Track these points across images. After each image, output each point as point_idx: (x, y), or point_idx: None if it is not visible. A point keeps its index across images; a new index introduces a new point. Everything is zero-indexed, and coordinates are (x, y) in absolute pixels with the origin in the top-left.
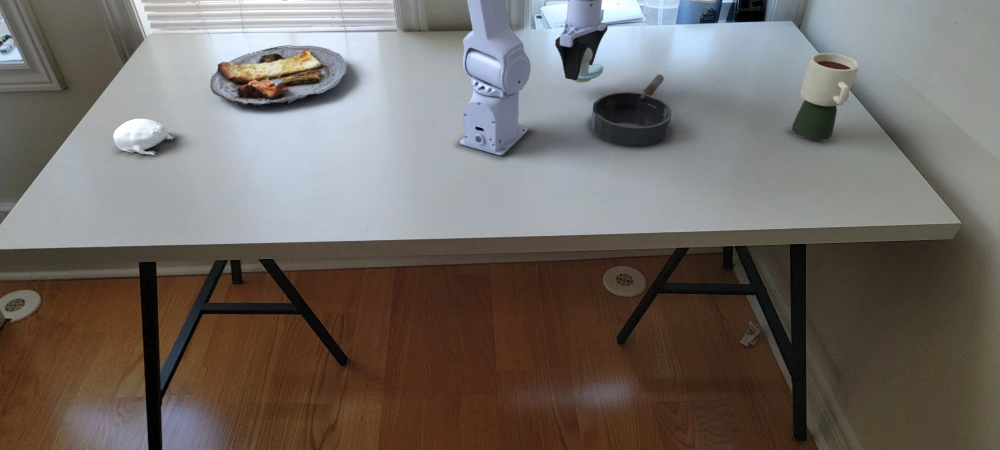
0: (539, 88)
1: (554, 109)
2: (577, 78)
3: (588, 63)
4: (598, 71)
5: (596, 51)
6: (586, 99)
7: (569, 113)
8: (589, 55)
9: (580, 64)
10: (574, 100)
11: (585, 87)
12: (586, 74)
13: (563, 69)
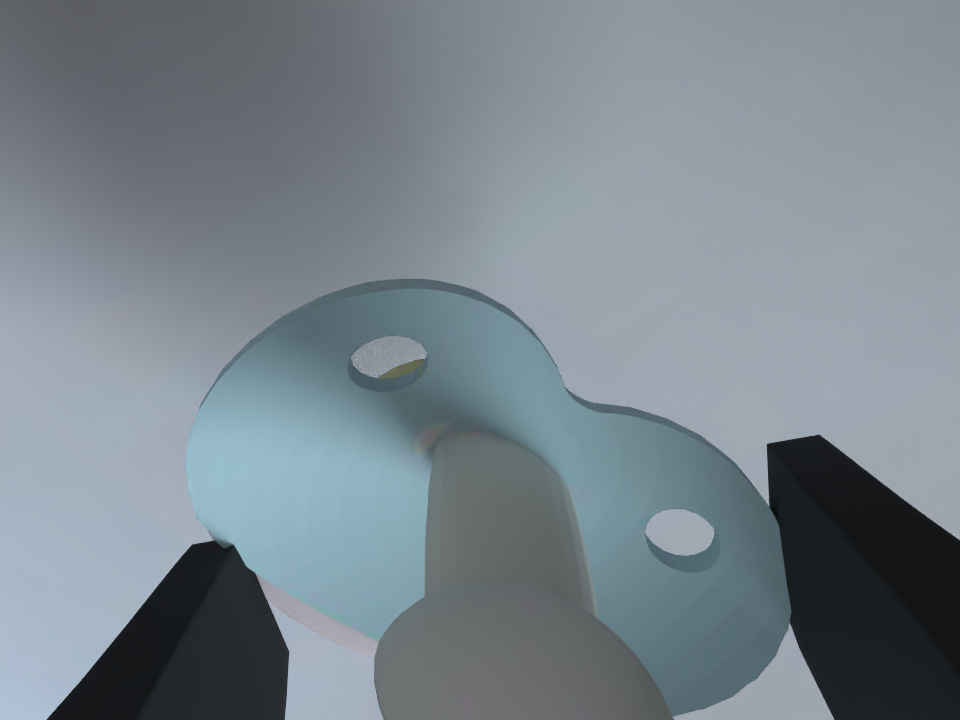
0: None
1: (880, 356)
2: (719, 455)
3: (469, 562)
4: (332, 358)
5: (82, 701)
6: (479, 243)
7: (891, 195)
8: (566, 679)
9: (937, 592)
10: (584, 323)
11: None
12: (486, 445)
13: (732, 691)
